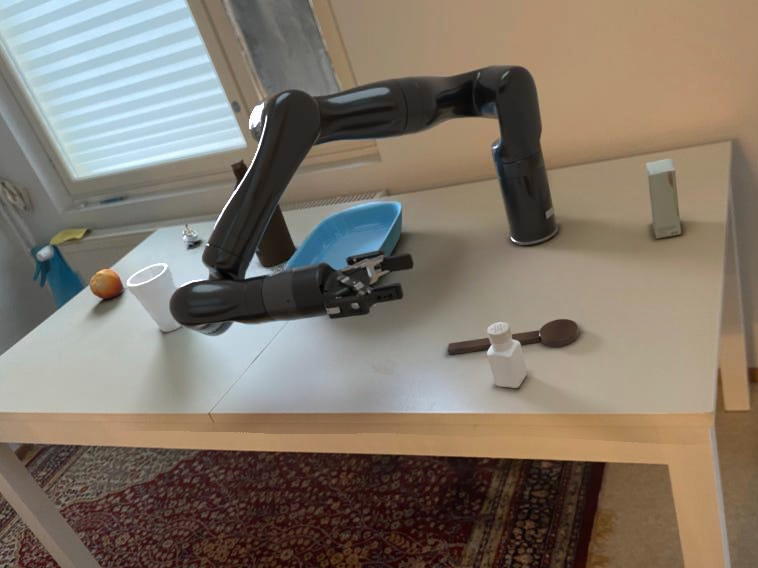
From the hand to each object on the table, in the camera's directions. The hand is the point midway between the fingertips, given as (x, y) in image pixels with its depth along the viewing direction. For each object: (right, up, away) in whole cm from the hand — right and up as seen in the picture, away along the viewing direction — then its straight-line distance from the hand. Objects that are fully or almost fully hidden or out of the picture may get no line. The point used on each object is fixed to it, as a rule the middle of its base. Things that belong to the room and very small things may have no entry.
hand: (407, 274), depth 97 cm
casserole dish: (-11, +9, +59) cm, 61 cm away
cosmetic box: (+48, +12, +30) cm, 58 cm away
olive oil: (-31, +14, +77) cm, 84 cm away
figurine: (-61, +22, +105) cm, 124 cm away
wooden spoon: (+18, -9, +16) cm, 25 cm away
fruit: (-78, +5, +90) cm, 119 cm away
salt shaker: (+16, -15, +8) cm, 23 cm away
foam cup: (-52, -4, +62) cm, 81 cm away
